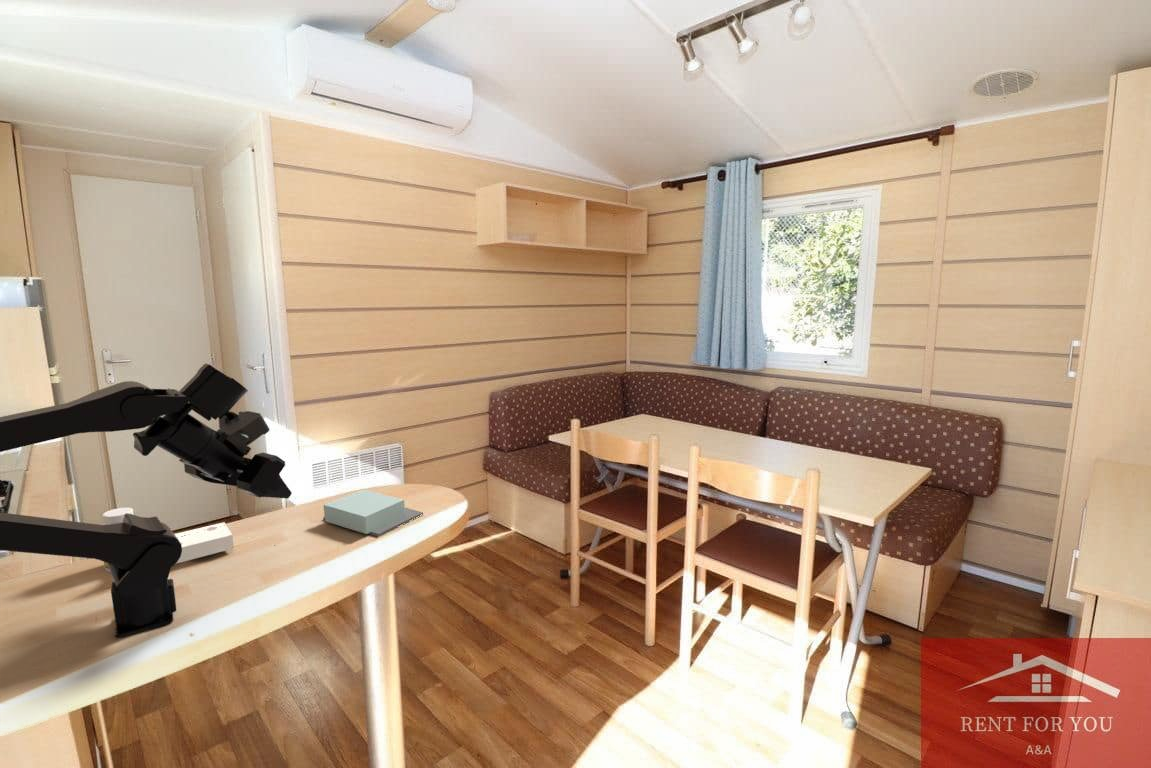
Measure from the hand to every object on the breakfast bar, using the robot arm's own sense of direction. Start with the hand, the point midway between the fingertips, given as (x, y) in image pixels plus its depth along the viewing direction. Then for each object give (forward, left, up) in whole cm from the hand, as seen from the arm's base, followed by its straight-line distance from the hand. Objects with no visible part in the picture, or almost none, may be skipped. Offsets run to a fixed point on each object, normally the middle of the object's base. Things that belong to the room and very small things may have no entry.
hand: (272, 490), depth 94 cm
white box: (-12, +13, -14) cm, 23 cm away
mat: (+20, +11, -14) cm, 26 cm away
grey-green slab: (+13, +8, -11) cm, 19 cm away
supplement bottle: (-21, +15, -14) cm, 30 cm away
